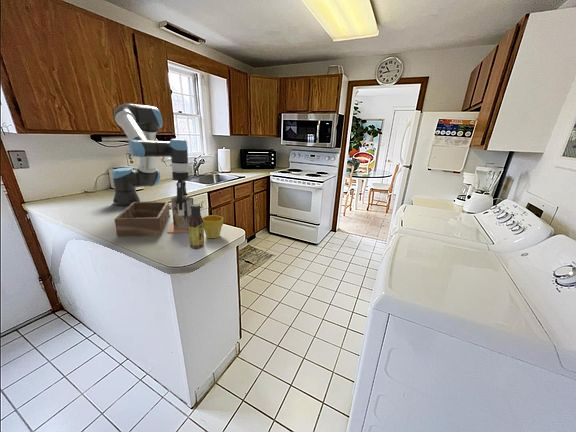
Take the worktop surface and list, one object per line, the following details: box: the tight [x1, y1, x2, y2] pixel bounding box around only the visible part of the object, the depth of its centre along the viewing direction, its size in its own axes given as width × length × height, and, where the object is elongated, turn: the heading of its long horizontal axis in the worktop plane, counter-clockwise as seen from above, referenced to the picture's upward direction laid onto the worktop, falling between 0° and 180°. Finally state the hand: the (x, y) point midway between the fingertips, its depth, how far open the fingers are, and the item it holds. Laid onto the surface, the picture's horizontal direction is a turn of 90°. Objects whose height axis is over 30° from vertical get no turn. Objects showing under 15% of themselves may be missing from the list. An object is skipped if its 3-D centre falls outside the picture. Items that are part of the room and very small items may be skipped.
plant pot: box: [202, 214, 224, 239], centre depth 120 cm, size 10×10×10 cm
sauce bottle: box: [188, 203, 205, 250], centre depth 107 cm, size 6×6×20 cm
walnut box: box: [114, 201, 171, 238], centre depth 126 cm, size 28×18×9 cm, turn 17°
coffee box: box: [171, 196, 194, 230], centre depth 126 cm, size 9×6×16 cm
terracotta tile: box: [167, 221, 189, 234], centre depth 129 cm, size 14×14×1 cm
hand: (182, 211), depth 126 cm, fingers open, 13 cm apart
